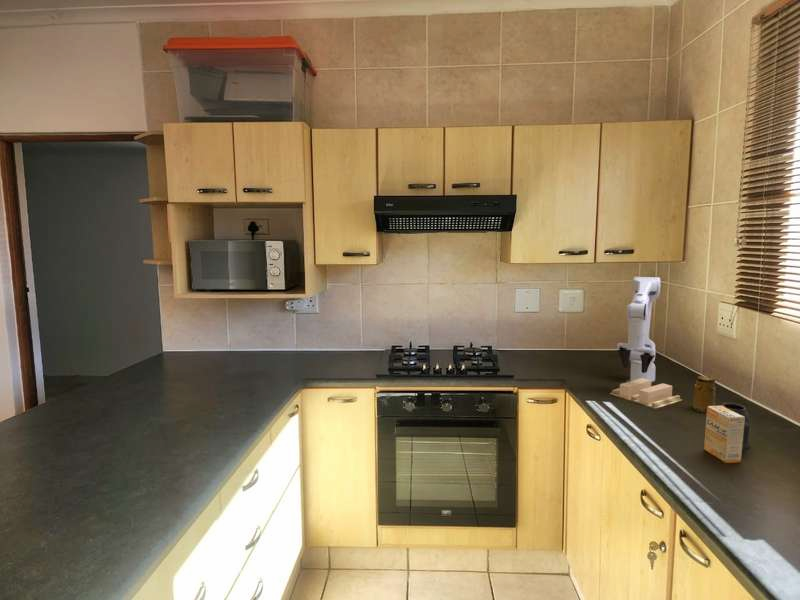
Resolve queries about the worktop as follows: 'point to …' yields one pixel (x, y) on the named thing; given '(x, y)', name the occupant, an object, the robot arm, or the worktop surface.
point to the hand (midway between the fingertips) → (634, 370)
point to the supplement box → (724, 433)
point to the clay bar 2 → (655, 393)
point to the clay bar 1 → (633, 387)
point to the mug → (743, 412)
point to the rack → (654, 404)
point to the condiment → (704, 393)
